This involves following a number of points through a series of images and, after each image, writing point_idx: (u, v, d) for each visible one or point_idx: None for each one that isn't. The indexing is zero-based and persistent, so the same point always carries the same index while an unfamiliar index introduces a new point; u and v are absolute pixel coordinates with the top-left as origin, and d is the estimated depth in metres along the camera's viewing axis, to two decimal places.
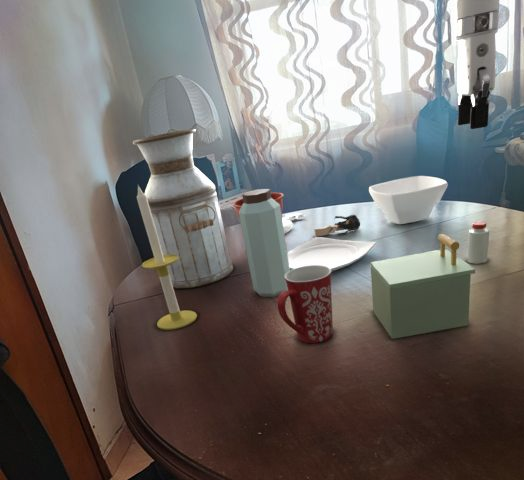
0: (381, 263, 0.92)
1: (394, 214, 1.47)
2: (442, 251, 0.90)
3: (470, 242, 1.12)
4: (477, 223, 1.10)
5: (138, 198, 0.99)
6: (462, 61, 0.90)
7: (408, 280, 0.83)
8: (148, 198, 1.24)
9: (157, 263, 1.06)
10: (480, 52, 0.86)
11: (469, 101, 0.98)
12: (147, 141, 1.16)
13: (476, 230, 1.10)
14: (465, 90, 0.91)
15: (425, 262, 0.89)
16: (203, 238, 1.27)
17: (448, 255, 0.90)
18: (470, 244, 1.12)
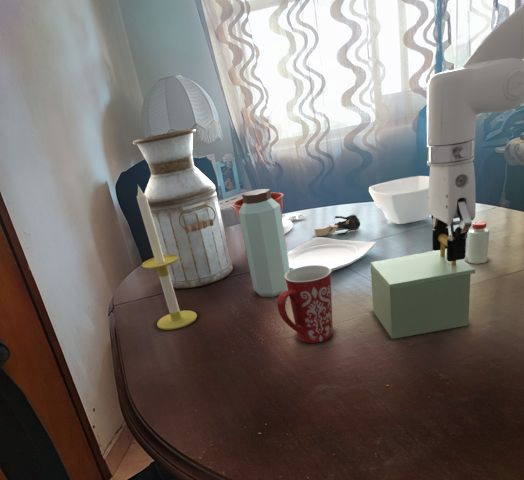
0: (381, 263, 0.92)
1: (394, 214, 1.47)
2: (442, 251, 0.90)
3: (470, 242, 1.12)
4: (477, 223, 1.10)
5: (138, 198, 0.99)
6: (437, 187, 0.81)
7: (408, 280, 0.83)
8: (148, 198, 1.24)
9: (157, 263, 1.06)
10: (459, 182, 0.77)
11: (444, 225, 0.88)
12: (147, 141, 1.16)
13: (476, 230, 1.10)
14: (442, 217, 0.82)
15: (425, 262, 0.89)
16: (203, 238, 1.27)
17: None
18: (470, 244, 1.12)
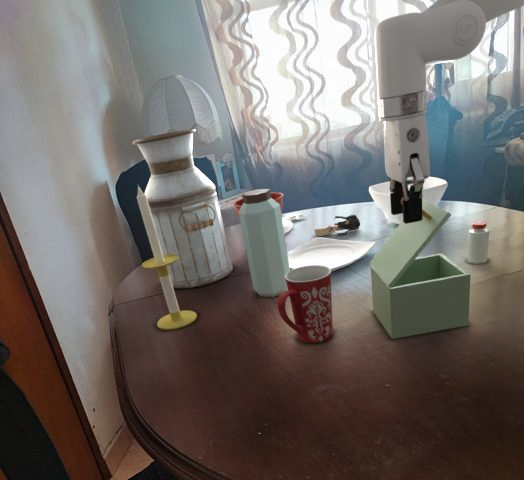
0: (377, 259, 0.92)
1: None
2: None
3: (470, 242, 1.12)
4: (477, 223, 1.10)
5: (138, 198, 0.99)
6: (390, 144, 0.77)
7: (400, 269, 0.82)
8: (148, 198, 1.24)
9: (157, 263, 1.06)
10: (411, 137, 0.73)
11: (402, 187, 0.84)
12: (147, 141, 1.16)
13: (476, 230, 1.10)
14: (396, 176, 0.78)
15: (408, 232, 0.86)
16: (203, 238, 1.27)
17: (424, 207, 0.85)
18: (470, 244, 1.12)
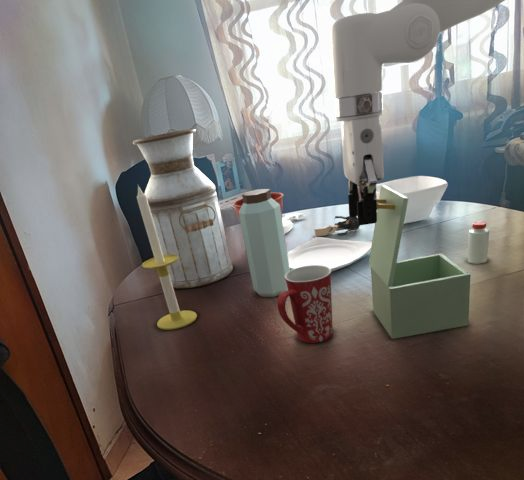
0: (372, 258, 0.92)
1: None
2: (379, 202, 0.84)
3: (470, 242, 1.12)
4: (477, 223, 1.10)
5: (138, 198, 0.99)
6: (346, 145, 0.77)
7: (390, 267, 0.82)
8: (148, 198, 1.24)
9: (157, 263, 1.06)
10: (365, 138, 0.73)
11: None
12: (147, 141, 1.16)
13: (476, 230, 1.10)
14: (351, 177, 0.78)
15: (384, 225, 0.85)
16: (203, 238, 1.27)
17: (387, 195, 0.84)
18: (470, 244, 1.12)
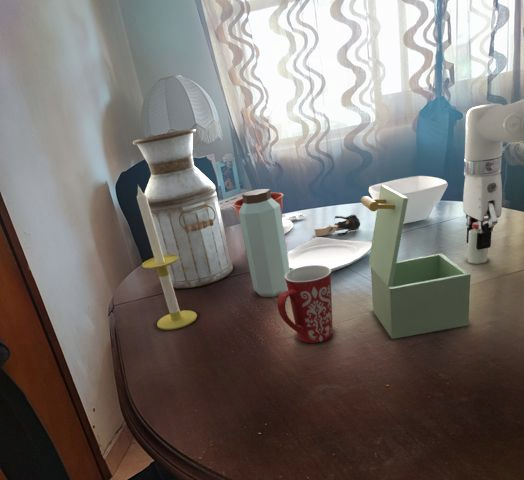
0: (372, 258, 0.92)
1: None
2: (379, 202, 0.84)
3: (470, 242, 1.12)
4: (477, 223, 1.10)
5: (138, 198, 0.99)
6: (472, 192, 1.06)
7: (390, 267, 0.82)
8: (148, 198, 1.24)
9: (157, 263, 1.06)
10: (489, 189, 1.02)
11: None
12: (147, 141, 1.16)
13: (476, 230, 1.10)
14: (475, 215, 1.07)
15: (384, 225, 0.85)
16: (203, 238, 1.27)
17: (386, 195, 0.84)
18: (470, 244, 1.12)
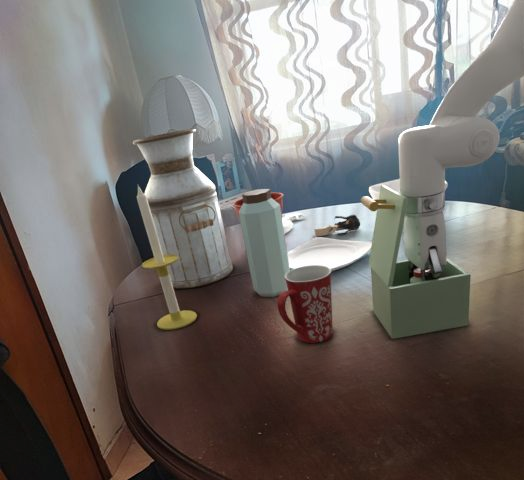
0: (372, 258, 0.92)
1: None
2: (379, 202, 0.84)
3: None
4: (419, 270, 0.89)
5: (138, 198, 0.99)
6: (410, 234, 0.84)
7: (390, 267, 0.82)
8: (148, 198, 1.24)
9: (157, 263, 1.06)
10: (430, 231, 0.81)
11: None
12: (147, 141, 1.16)
13: (418, 279, 0.89)
14: (416, 262, 0.86)
15: (384, 225, 0.85)
16: (203, 238, 1.27)
17: (386, 195, 0.84)
18: None
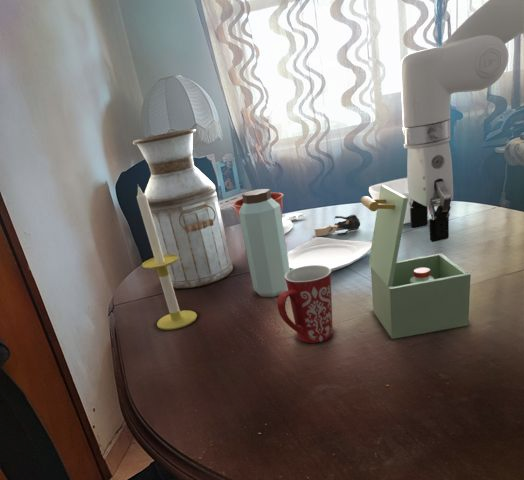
0: (372, 258, 0.92)
1: None
2: (379, 202, 0.84)
3: None
4: (419, 270, 0.89)
5: (138, 198, 0.99)
6: (414, 169, 0.80)
7: (390, 267, 0.82)
8: (148, 198, 1.24)
9: (157, 263, 1.06)
10: (435, 163, 0.77)
11: (421, 204, 0.89)
12: (147, 141, 1.16)
13: (418, 279, 0.89)
14: (421, 200, 0.81)
15: (384, 225, 0.85)
16: (203, 238, 1.27)
17: (386, 195, 0.84)
18: None
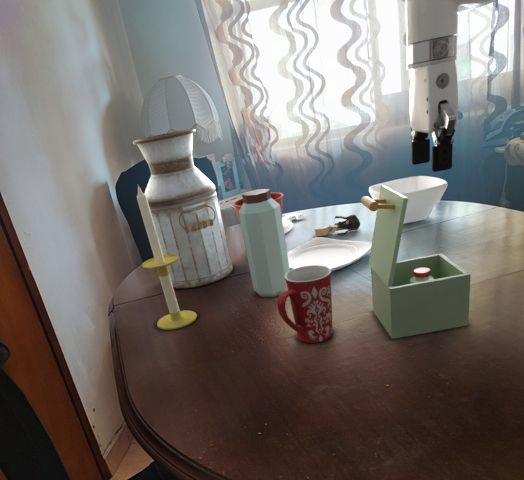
0: (372, 258, 0.92)
1: None
2: (379, 202, 0.84)
3: None
4: (419, 270, 0.89)
5: (138, 198, 0.99)
6: (418, 93, 0.76)
7: (390, 267, 0.82)
8: (148, 198, 1.24)
9: (157, 263, 1.06)
10: (440, 83, 0.72)
11: (424, 137, 0.84)
12: (147, 141, 1.16)
13: (418, 279, 0.89)
14: (423, 126, 0.77)
15: (384, 225, 0.85)
16: (203, 238, 1.27)
17: (386, 195, 0.84)
18: None
